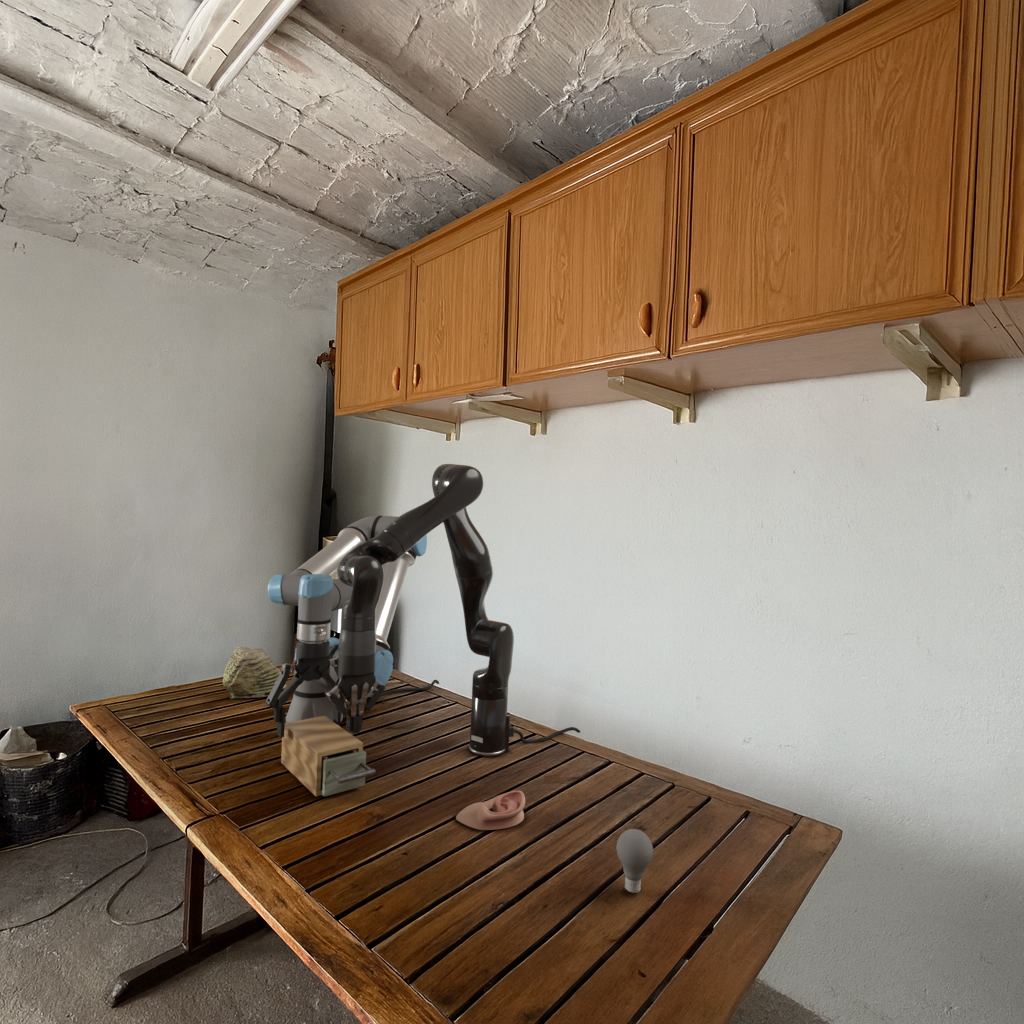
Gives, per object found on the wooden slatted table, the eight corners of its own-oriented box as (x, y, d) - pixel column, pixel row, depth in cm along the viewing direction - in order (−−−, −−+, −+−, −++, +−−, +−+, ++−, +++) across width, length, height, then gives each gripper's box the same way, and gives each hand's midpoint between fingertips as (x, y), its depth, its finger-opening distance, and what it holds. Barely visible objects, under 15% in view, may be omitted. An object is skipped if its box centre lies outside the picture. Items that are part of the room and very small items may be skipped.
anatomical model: (452, 805, 124) (467, 780, 135) (451, 826, 124) (467, 799, 135) (518, 815, 121) (529, 789, 132) (517, 836, 121) (528, 808, 132)
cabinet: (361, 784, 140) (363, 742, 140) (315, 796, 134) (317, 753, 133) (323, 752, 156) (324, 715, 156) (281, 762, 150) (282, 723, 149)
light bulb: (610, 879, 108) (613, 822, 108) (644, 879, 109) (647, 822, 109) (619, 902, 102) (622, 840, 102) (655, 901, 103) (658, 840, 103)
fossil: (218, 695, 195) (220, 647, 195) (278, 685, 208) (279, 640, 207) (228, 703, 189) (230, 653, 188) (289, 692, 201) (290, 645, 201)
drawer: (377, 795, 133) (378, 761, 133) (335, 807, 127) (337, 771, 127) (328, 755, 153) (329, 725, 152) (290, 764, 147) (291, 732, 147)
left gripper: (265, 648, 139) (260, 745, 139) (369, 638, 155) (364, 725, 155) (253, 642, 144) (249, 735, 145) (355, 632, 160) (351, 716, 160)
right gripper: (334, 657, 125) (331, 745, 125) (394, 650, 133) (391, 731, 133) (319, 649, 130) (316, 733, 131) (377, 642, 139) (374, 721, 139)
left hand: (309, 730), depth 150 cm, fingers open, 13 cm apart
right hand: (354, 732), depth 132 cm, fingers closed
